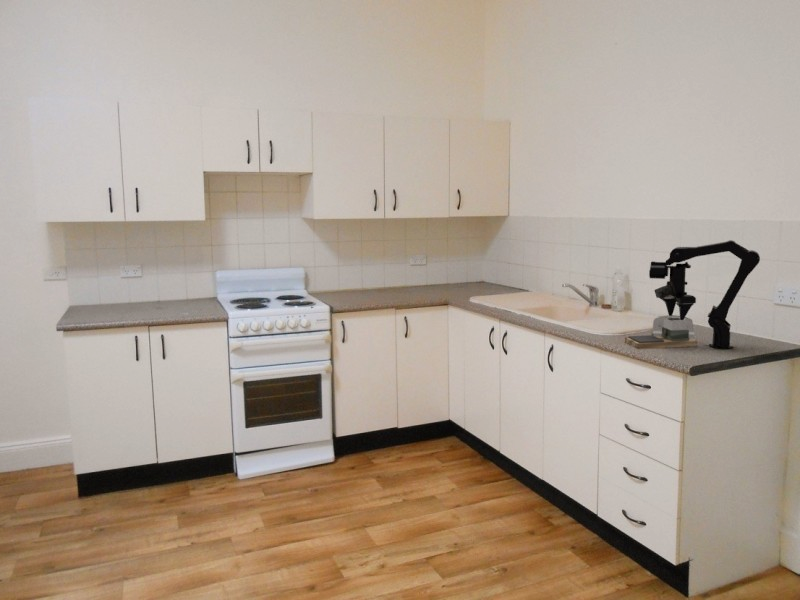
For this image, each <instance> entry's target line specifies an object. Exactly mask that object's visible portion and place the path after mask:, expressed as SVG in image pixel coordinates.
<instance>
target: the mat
mask: <svg viewBox="0 0 800 600" xmlns="http://www.w3.org/2000/svg"><path fill="white" fill-rule="evenodd" d="M628 337H629V338H630V339H632V340H634V341H636V342H638V343H654V342H664V340H662V339H660V338H657V337H655V336H653V335H652V334H651V335H649V334H647V335H629V336H628Z"/></svg>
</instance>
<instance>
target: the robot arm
mask: <svg viewBox="0 0 800 600" xmlns="http://www.w3.org/2000/svg"><path fill="white" fill-rule="evenodd" d="M727 252H729V253H731V254H732V255H734V256H736V257H737V258H739V259H740V260H741V261H740V264H739V267H738V270H737V271H736V274H735V275H734V278H733V279H732V281H731V283H730V285H729V286H728V289H727V290H726V292H725V294H724V296H723V297H722V299H721V301H720V303H719V304H718V305H717V306H716V305H712V309H711V310H710V311H709V312H708V314H707V318H708V319H707V323H708V326H709V327H710V328H712V329H713V332H712V343H709V344H708V346H710V347H712V348H715V349H721V350H722V349H734V346H732V345H730V344H731V343H730V341H731V331H730V330H731V326H732V325H731V324H730V323H729V321H728V320H727V317H728V313H729V311H730V308H731V306H732V304H733V302H734V300H736V297H737V295H738V293H739V292H740V290H741V288H742V287H743V285H744V283H745V281H746V279H747V277H748V276H749V275H750V274H751V272H753V270H754V269H755V268H756V267H757V266H758V264H759V263H760V261H761V260H760V259H761V257H760V254H759V252H757V251H755V250H751V249H750V250H749V249H747V248H745V247H743V246H742V245H740V244H738V243H737V242H736V241H734V240H730V239H729V240H727V241H723V242H717V243H711V244H705V245H699V246H676V247H674V248H673V249H672V250H671V251H670V253H669V258H668V259H666V260H665V261H651V262H650V265H649V266H650V267H649V274H648V276H649V279H654V280H655V279H656V280H657V279H660V280H662V279H663V280H664V279H666V277H669V280H668V281H667V282H666V284H665V285H663V286H661V287H659V288H656V289H654V294H655V297H656V298H658V299H659V300H661V301H663V302H664V304H665V307H666V310H667V314H668V315H669V316H672V315H674V311H675V309H676V308H675V307H676V305H677V306H678V309H679V310H678V312H679V316H680V320H684V318H685V317H687V314H688V313H689V311H690V309H691V308H692V306H693V305H694V304H696V303H697V298H696V296H694V295H691V294H688V292H687V291H686V285H688V281H686V272H687V271H686V269H691V267H692V265H691V264H689V263H688V260H692V259H694V258H696V257H701V256H708V255H709V256H710V255H714V254H720V253H727ZM685 261H686V262H685ZM682 262H684V263H682ZM674 263H675V264H676V265H673V264H674Z"/></svg>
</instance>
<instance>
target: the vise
mask: <svg viewBox="0 0 800 600" xmlns="http://www.w3.org/2000/svg"><path fill="white" fill-rule="evenodd" d="M655 337H657V338H660V339H662V340H664V342H654V343H638V342H636V341H634V340H632V339H630V338H629V336H626V337H624V343H626V344H628V345H630V346H631V347H633V348H635V349H637V350H642V349H665V347H667V348H685V347H687V346H689V347H697V346H698V341H697V340H695V339H692V338H689V330H677V331H671V330H669V329H666V328H664V327H662V334H661V336H655Z"/></svg>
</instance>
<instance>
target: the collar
mask: <svg viewBox="0 0 800 600" xmlns="http://www.w3.org/2000/svg"><path fill="white" fill-rule="evenodd" d="M687 322H688V320H686V319H684V320H680V317H672V318H664V328H666V329H669V330H671V331H677V330H687Z"/></svg>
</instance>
